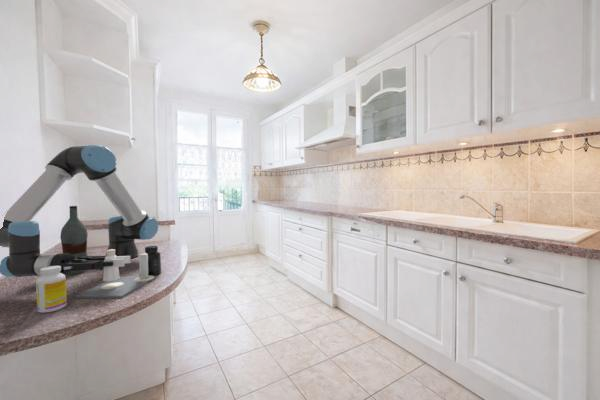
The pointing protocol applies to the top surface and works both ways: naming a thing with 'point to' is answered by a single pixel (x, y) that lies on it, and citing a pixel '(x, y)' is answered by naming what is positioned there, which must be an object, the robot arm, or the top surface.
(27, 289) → the top surface
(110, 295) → the board
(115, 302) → the top surface
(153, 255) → the supplement bottle
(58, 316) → the top surface
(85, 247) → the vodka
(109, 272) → the pepper shaker
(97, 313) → the top surface
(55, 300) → the supplement bottle
